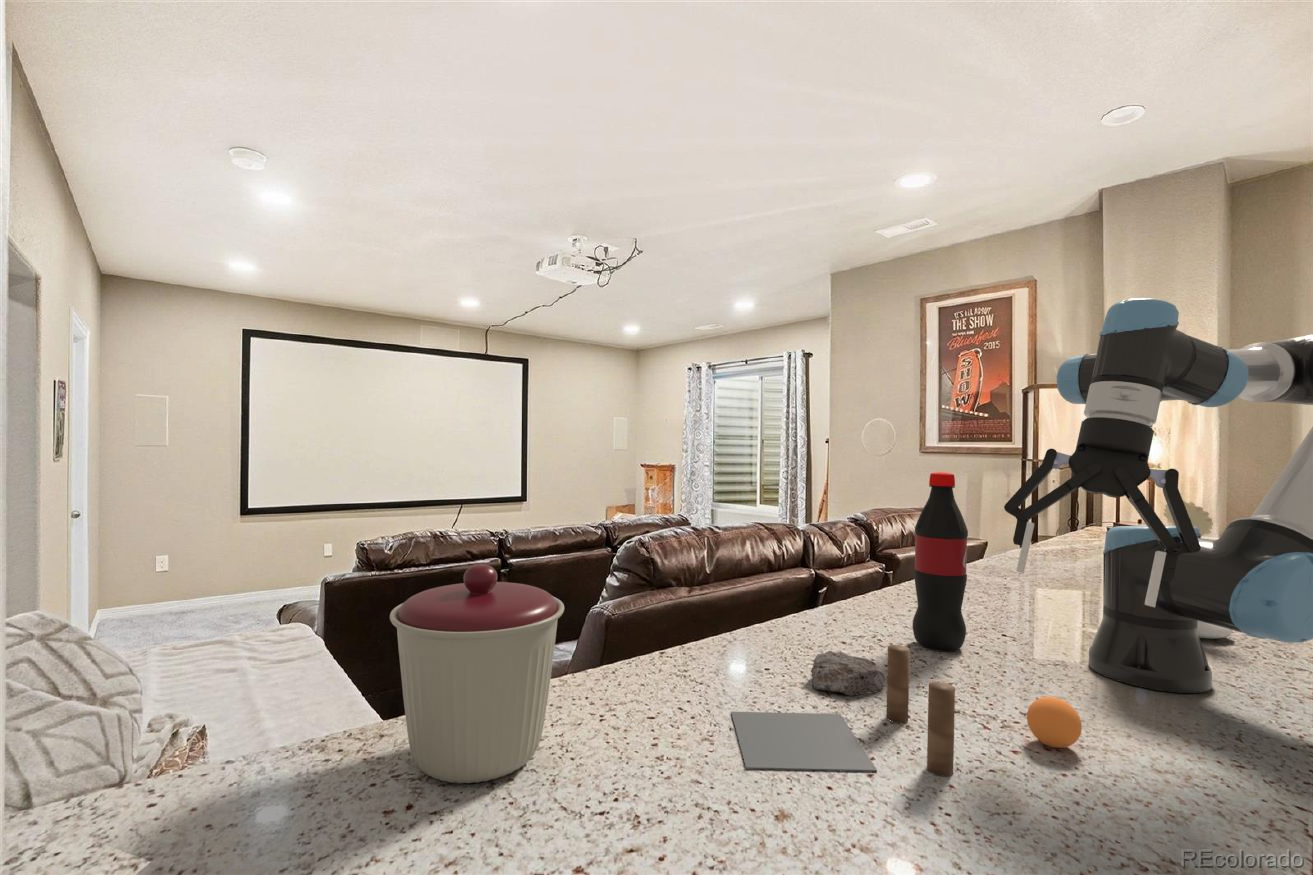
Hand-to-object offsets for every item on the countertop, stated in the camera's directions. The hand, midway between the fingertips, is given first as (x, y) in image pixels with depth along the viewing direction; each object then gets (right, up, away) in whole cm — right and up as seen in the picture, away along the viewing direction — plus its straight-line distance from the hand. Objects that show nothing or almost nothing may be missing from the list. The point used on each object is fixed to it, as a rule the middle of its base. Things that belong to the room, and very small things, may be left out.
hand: (1081, 588), depth 81 cm
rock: (-25, -18, +14) cm, 33 cm away
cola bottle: (-4, -18, +32) cm, 37 cm away
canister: (-72, -16, -10) cm, 74 cm away
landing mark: (-36, -17, -4) cm, 40 cm away
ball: (-6, -15, -4) cm, 16 cm away
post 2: (-22, -17, -10) cm, 30 cm away
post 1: (-22, -17, +2) cm, 28 cm away
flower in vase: (+48, -19, +43) cm, 67 cm away
